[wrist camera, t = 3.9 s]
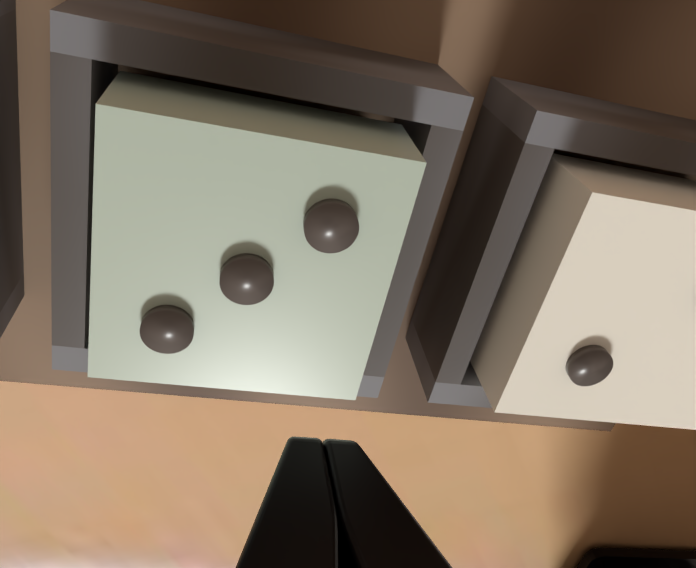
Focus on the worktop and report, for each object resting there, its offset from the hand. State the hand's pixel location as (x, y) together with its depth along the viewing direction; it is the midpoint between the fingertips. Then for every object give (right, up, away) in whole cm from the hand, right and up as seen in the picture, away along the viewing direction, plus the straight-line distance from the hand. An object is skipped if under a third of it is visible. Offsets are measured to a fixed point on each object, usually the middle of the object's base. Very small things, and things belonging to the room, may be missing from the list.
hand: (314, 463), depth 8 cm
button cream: (+6, +2, +6) cm, 9 cm away
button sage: (-2, +3, +5) cm, 6 cm away
